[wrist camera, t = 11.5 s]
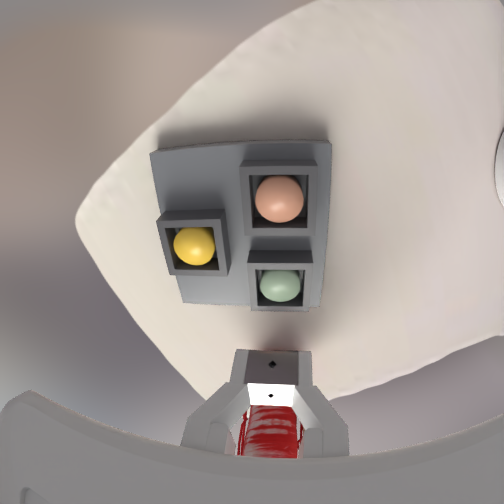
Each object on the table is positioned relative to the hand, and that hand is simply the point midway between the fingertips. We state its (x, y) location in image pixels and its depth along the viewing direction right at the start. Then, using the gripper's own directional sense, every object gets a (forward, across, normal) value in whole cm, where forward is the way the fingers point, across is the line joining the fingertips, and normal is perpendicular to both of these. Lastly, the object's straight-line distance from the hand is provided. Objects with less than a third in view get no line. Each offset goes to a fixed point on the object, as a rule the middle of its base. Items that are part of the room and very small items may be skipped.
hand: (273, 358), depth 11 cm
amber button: (+19, +9, +5) cm, 21 cm away
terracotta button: (+19, 0, 0) cm, 19 cm away
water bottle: (+21, -1, +30) cm, 37 cm away
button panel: (+21, +4, +5) cm, 22 cm away
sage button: (+19, 0, +10) cm, 21 cm away
